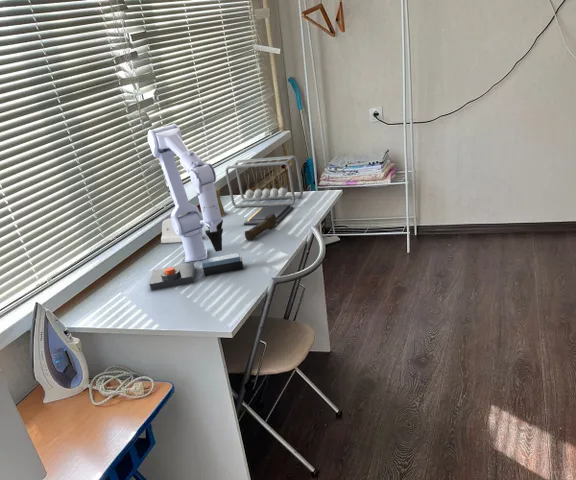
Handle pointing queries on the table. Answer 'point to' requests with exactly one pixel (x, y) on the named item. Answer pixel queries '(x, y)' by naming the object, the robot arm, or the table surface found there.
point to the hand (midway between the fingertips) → (218, 247)
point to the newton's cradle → (265, 192)
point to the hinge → (169, 232)
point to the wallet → (265, 211)
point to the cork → (220, 203)
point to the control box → (172, 277)
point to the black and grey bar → (222, 264)
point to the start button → (169, 270)
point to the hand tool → (261, 227)
